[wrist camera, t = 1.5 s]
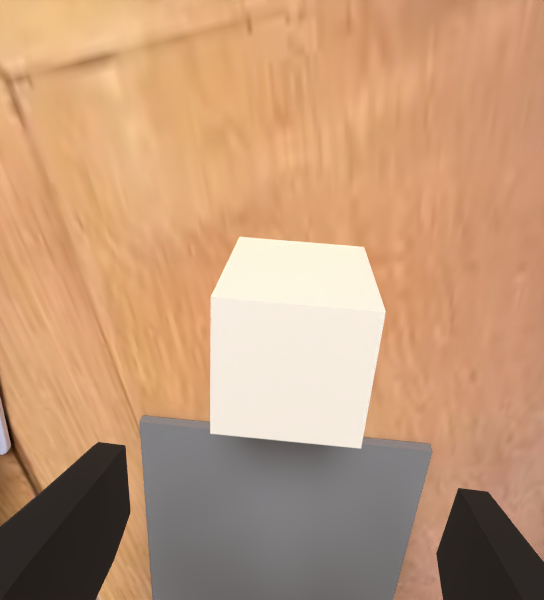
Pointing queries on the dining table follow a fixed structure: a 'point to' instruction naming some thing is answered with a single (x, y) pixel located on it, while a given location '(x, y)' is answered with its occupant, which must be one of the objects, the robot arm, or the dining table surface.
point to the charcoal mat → (276, 514)
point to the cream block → (294, 342)
